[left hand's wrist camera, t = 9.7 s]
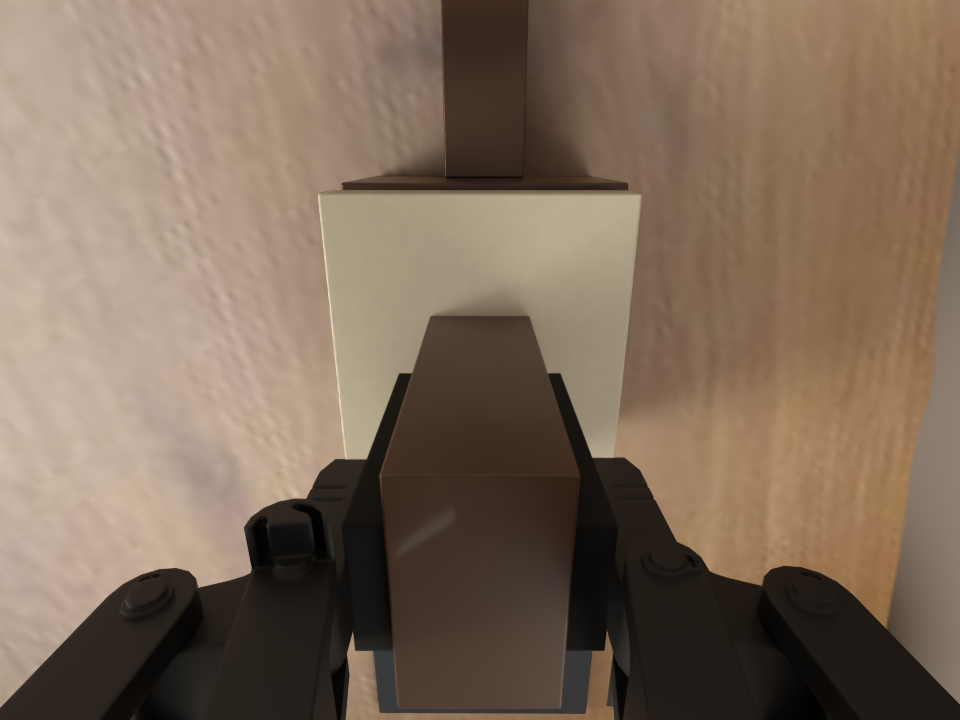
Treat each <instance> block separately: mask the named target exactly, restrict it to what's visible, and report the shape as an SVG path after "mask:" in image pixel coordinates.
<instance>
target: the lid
mask: <svg viewBox="0 0 960 720" xmlns="http://www.w3.org/2000/svg"><path fill="white" fill-rule="evenodd" d="M318 201H319V211H320V221H321V230H322V240H323V249H324V259H325V269H326V278H327V288H328V297H329V307H330V316H331V326H332V336H333V345H334V355H335V364H336V374H337V384H338V393H339V403H340V412H341V422H342V431H343V441H344V451H345V459H367V457H368V454H369V452H370V449H371V446H372V444H373V441H374V438H375V436H376V433H377V430H378V428H379V425H380V422H381V420H382V417H383V414H384V412H385V409H386V407H387V404H388V401H389V399H390V396H391V393H392V391H393V388H394V385H395V383H396V380H397V377H398V375H399V373H412V375H411V378H410V381H409V384H408V388H407V391H406V394H405V397H404V400H403V403H402V406H401V409H400V413H399V416H398V419H397V422H396V425H395V428H394V431H393V435H392V438H391V441H390V444H389V447H388V450H387V453H386V456H385V460H384V463H383V466H382V469H381V472H380V475H379V477H380V489H381V502H382V515H383V527H384V540H385V553H386V565H387V578H388V591H389V603H390V616H391V629H392V642H393V654H394V667H395V680H396V692H397V705H398V708H400V709H560V708H561V707H562V699H563V687H564V674H565V662H566V649H567V637H568V624H569V612H570V599H571V587H572V574H573V562H574V549H575V537H576V524H577V512H578V500H579V487H580V473H579V470H578V466H577V463H576V460H575V457H574V454H573V451H572V448H571V445H570V441H569V438H568V435H567V432H566V429H565V426H564V423H563V419H562V416H561V413H560V410H559V407H558V404H557V401H556V398H555V394H554V391H553V388H552V385H551V382H550V379H549V376H548V373H561V376H562V378H563V381H564V384H565V386H566V389H567V392H568V394H569V397H570V400H571V402H572V405H573V407H574V410H575V413H576V415H577V418H578V421H579V423H580V426H581V429H582V431H583V434H584V437H585V439H586V442H587V445H588V447H589V450H590V453H591V455H592V458H614V457H615V447H616V438H617V428H618V419H619V409H620V400H621V390H622V381H623V371H624V362H625V352H626V343H627V333H628V324H629V315H630V305H631V296H632V286H633V277H634V267H635V258H636V248H637V239H638V229H639V220H640V210H641V201H642V195H641V194H640V193H637V192H632V191H627V190H332V191H327V192H322V193H319V194H318Z"/></svg>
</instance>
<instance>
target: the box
mask: <svg viewBox="0 0 960 720" xmlns="http://www.w3.org/2000/svg"><path fill="white" fill-rule="evenodd" d="M441 15H442V60H443V105H444V151H445V176H376V177H370V178H365V179H360V180H354V181H349V182H344V183H342V184H341V190H627V191H628V183H624V182H619V181H614V180H608V179H603V178H597V177H592V176H523V172H524V138H525V103H526V69H527V34H528V0H441Z"/></svg>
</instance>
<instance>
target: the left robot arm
mask: <svg viewBox="0 0 960 720" xmlns="http://www.w3.org/2000/svg"><path fill="white" fill-rule="evenodd" d="M411 375H412V373H399V375H398V377H397V380H396V383H395V385H394V388H393V391H392V393H391V396H390V399H389V401H388V404H387V407H386V409H385V412H384V414H383V417H382V420H381V422H380V425H379V428H378V430H377V433H376V436H375V438H374V441H373V444H372V446H371V449H370V452H369V454H368V457H367V459H335V460H334V461H333V462H332V463H330V464H329V465H328V466H327V467H325V468H324V469H323V470H322V471H320V473H319V475H318V477H317V479H316V481H315V483H314V485H313V488H312V489H311V490H310V492H309V494H308V496H307V498H306V499H290V500H285V501H280V502H277V503H275V504H272V505H270V506H267V507H265V508H263V509H262V510H260V511H259V512H258V513H256V514H255V515H253V516H252V517H251V518H250V520H249V521H248V522H247V524H246V525H245V527H244V531H245V536H246V541H247V546H248V551H249V556H250V561H251V566H252V571H251V573H250V574H248V575H246V576H243V577H240V578H237V579H233V580H230V581H226V582H222V583H217V584H213V585H209V586H205V587H200V588H198V585H197V581H196V578H195V577H194V576H193V575H192V574H191V573H190V572H189V571H185V570H181V569H177V568H171V569H159V570H155V571H152V572H149V573H146V574H142V575H140V576H138V577H136V578H134V579H132V580H130V581H128V582H126V583H125V584H123V585H121V586H120V587H119V588H118V589H117V590H115V591H114V592H113V593H112V594H110V595H109V596H108V597H107V598H106V599H105V600H104V601H103V602H102V603H101V604H100V605H99V606H98V607H97V608H96V609H95V610H94V611H93V612H92V614H91V615H90V616H89V617H88V618H87V619H86V620H85V621H84V622H83V623H82V624H81V625H80V626H79V627H78V628H77V629H76V630H75V631H74V632H73V633H72V634H71V635H70V636H69V637H68V638H67V639H66V640H65V641H64V643H63V644H62V645H61V646H60V647H59V648H58V649H57V650H56V651H55V652H54V653H53V654H52V655H51V656H50V657H49V658H48V659H47V660H46V661H45V662H44V663H43V664H42V665H41V666H40V667H39V668H38V669H37V670H36V671H35V673H34V674H33V675H32V676H31V677H30V678H29V679H28V680H27V681H26V682H25V683H24V684H23V685H22V686H21V687H20V688H19V689H18V690H17V691H16V692H15V693H14V694H13V695H12V696H11V697H10V698H9V699H8V700H7V702H6V703H5V704H4V705H3V706H2V707H1V708H0V720H345V719H346V708H347V696H348V685H349V668H348V659H347V651H348V647H349V644H350V640H351V636H352V632H353V635H354V643H355V651H393V642H392V629H391V616H390V603H389V591H388V578H387V565H386V553H385V540H384V527H383V515H382V502H381V489H380V477H379V475H380V472H381V469H382V466H383V463H384V460H385V456H386V453H387V450H388V447H389V444H390V441H391V438H392V435H393V431H394V428H395V425H396V422H397V419H398V416H399V413H400V409H401V406H402V403H403V400H404V397H405V394H406V391H407V388H408V384H409V381H410V378H411ZM548 376H549V379H550V382H551V385H552V388H553V391H554V394H555V398H556V401H557V404H558V407H559V410H560V413H561V416H562V419H563V423H564V426H565V429H566V432H567V435H568V438H569V441H570V445H571V448H572V451H573V454H574V457H575V460H576V463H577V466H578V470H579V473H580V487H579V500H578V512H577V524H576V537H575V549H574V562H573V574H572V587H571V599H570V612H569V624H568V637H567V649H566V651H604V649H605V641H606V632H607V631H608V635H609V639H610V642H611V646H612V650H613V659H612V668H611V676H610V684H609V692H608V700H607V706H612V707H614V718H615V720H960V704H959V703H958V702H957V701H956V700H955V699H954V698H953V697H952V696H951V695H950V694H949V693H948V692H947V691H946V690H945V689H944V688H943V687H942V686H941V685H940V684H939V683H938V682H937V681H936V680H935V679H934V678H933V677H932V676H931V675H930V674H929V673H928V672H927V670H926V669H925V668H924V667H923V666H922V665H921V664H920V663H919V662H918V661H917V660H916V659H915V658H914V657H913V656H912V655H911V654H910V653H909V652H908V651H907V650H906V649H905V648H904V647H903V646H902V645H901V644H900V643H899V642H898V641H897V640H896V639H895V638H894V637H893V636H892V635H891V633H890V632H889V631H888V630H887V629H886V628H885V627H884V626H883V625H882V624H881V623H880V622H879V621H878V620H877V619H876V618H875V617H874V616H873V615H872V614H871V613H870V612H869V611H868V610H867V609H866V608H865V607H864V606H863V605H862V604H861V603H860V602H859V601H858V600H857V598H856V597H855V596H854V595H853V594H851V593H850V592H849V591H848V590H847V589H845V588H844V587H843V586H842V585H840V584H839V583H838V582H836V581H834V580H832V579H830V578H829V577H827V576H825V575H823V574H821V573H819V572H815V571H812V570H809V569H805V568H802V567H792V566H782V567H778V568H774V569H771V570H770V571H769V572H768V573H767V574H766V575H765V576H764V579H763V583H762V586H760V585H756V584H752V583H747V582H743V581H739V580H734V579H730V578H727V577H723V576H720V575H717V574H714V573H712V572H710V571H709V570H708V568H707V566H706V564H705V563H704V561H703V560H702V558H701V557H700V556H699V555H698V554H696V553H695V552H694V551H693V550H692V549H690V548H689V547H687V546H685V545H683V544H680V543H678V542H677V541H676V539H675V538H674V536H673V534H672V532H671V530H670V528H669V526H668V524H667V522H666V520H665V518H664V516H663V514H662V512H661V510H660V508H659V506H658V505H657V503H656V501H655V500H654V498H653V495H652V493H651V491H650V489H649V488H648V487H647V483H646V481H645V479H644V477H643V475H642V473H641V472H640V470H639V469H638V468H636V467H635V466H634V465H633V464H632V463H630V462H629V461H628V460H627V459H625V458H592V455H591V453H590V450H589V447H588V445H587V442H586V439H585V437H584V434H583V431H582V429H581V426H580V423H579V421H578V418H577V415H576V413H575V410H574V407H573V405H572V402H571V400H570V397H569V394H568V392H567V389H566V386H565V384H564V381H563V378H562V376H561V373H548Z"/></svg>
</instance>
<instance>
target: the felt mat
mask: <svg viewBox="0 0 960 720" xmlns="http://www.w3.org/2000/svg"><path fill="white" fill-rule="evenodd" d="M591 656H592V651H566V662H565V674H564V687H563V699H562V707H561V708H560V709H400V708H398V705H397V692H396V680H395V667H394V654H393V651H374V660H375V670H376V680H377V690H378V700H379V710H380V713H550V714H585V713H586V704H587V694H588V685H589V675H590V666H591Z"/></svg>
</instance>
